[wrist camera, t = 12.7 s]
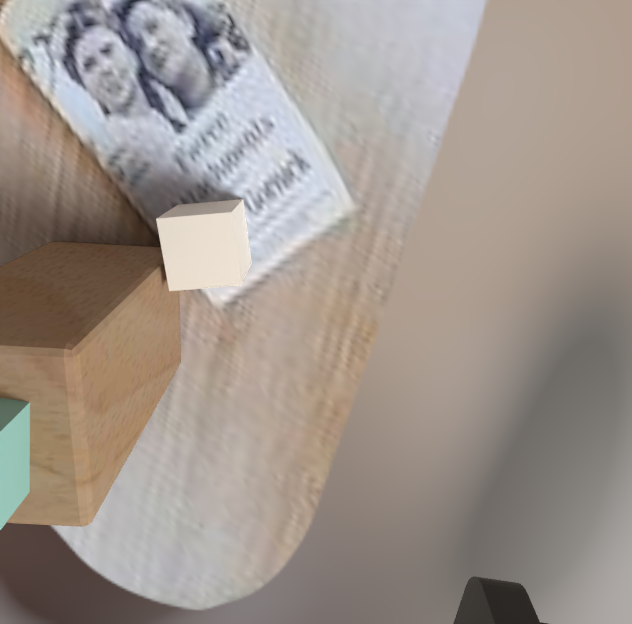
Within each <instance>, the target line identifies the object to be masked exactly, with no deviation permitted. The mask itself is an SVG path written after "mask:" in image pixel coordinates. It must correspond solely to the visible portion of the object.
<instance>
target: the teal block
mask: <svg viewBox="0 0 632 624" xmlns="http://www.w3.org/2000/svg"><path fill="white" fill-rule="evenodd" d="M29 492H30V402H25V401H18V400H12V399H5V398H0V530H1V528H2V527H3V526H4V525H5V523H6V522H7V521H8V519H9V518H10V517H11V516H12V514H13V513H14V512H15V510H16V509H17V508H18V506H19V505H20V504H21V503H22V501H23V500H24V499H25V497H26V496H27V495H28V493H29Z"/></svg>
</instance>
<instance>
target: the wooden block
mask: <svg viewBox="0 0 632 624" xmlns="http://www.w3.org/2000/svg"><path fill="white" fill-rule="evenodd" d="M180 363H181V344H180V304H179V290H178V291H169V287H168V282H167V276H166V271H165V265H164V260H163V254H162V249H161V247H146V246H128V245H111V244H93V243H75V242H57V241H53V242H50V243H48V244H46V245H44V246H42V247H40V248H38V249H36V250H33V251H31V252H29V253H27V254H25V255H23V256H21V257H19V258H17V259H15V260H13V261H11V262H9V263H7V264H5V265H2V266H0V398H5V399H12V400H18V401H25V402H30V492H29V493H28V495H27V496H26V497H25V499H24V500H23V501H22V503H21V504H20V505H19V506H18V508H17V509H16V510H15V512H14V513H13V514H12V516H11V517H10V518H9V519H8V521H7V522H6V523H24V524H43V525H62V526H86V525H89V524H90V523H91V522H92V521H93V519H94V517H95V515H96V513H97V512H98V510H99V508H100V506H101V505H102V503H103V501H104V499H105V497H106V496H107V494H108V492H109V490H110V488H111V487H112V485H113V483H114V481H115V479H116V478H117V476H118V474H119V472H120V471H121V469H122V467H123V465H124V463H125V462H126V460H127V458H128V456H129V454H130V453H131V451H132V449H133V447H134V445H135V444H136V442H137V440H138V438H139V437H140V435H141V433H142V431H143V429H144V428H145V426H146V424H147V422H148V420H149V419H150V417H151V415H152V413H153V411H154V410H155V408H156V406H157V404H158V403H159V401H160V399H161V397H162V395H163V394H164V392H165V390H166V388H167V386H168V385H169V383H170V381H171V379H172V378H173V376H174V374H175V372H176V370H177V369H178V367H179V365H180Z"/></svg>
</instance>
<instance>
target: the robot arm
mask: <svg viewBox="0 0 632 624" xmlns="http://www.w3.org/2000/svg"><path fill="white" fill-rule="evenodd" d="M454 624H547V623H540V622H539V619H538V617H537V615H536V612H535V610H534V608H533V605H532V603H531V601H530V598H529V596H528V594H527V592H526V590H525V588H524V587H523V586H522V585H521V584H519V583H515V582H508V581H501V580H495V579H488V578H481V577H471V578H470V579H469V581H468V583H467V585H466V588H465V591H464V594H463V597H462V600H461V603H460V606H459V609H458V612H457V615H456V618H455V621H454Z"/></svg>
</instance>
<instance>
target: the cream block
mask: <svg viewBox="0 0 632 624" xmlns="http://www.w3.org/2000/svg"><path fill="white" fill-rule="evenodd" d="M156 221H157V227H158V232H159V238H160V243H161V249H162V254H163V260H164V265H165V271H166V276H167V282H168V287H169V291H178V290H190V289H202V288H214V287H226V286H238V285H242V283H243V281H244V279H245V277H246V275H247V272H248V270H249V268H250V266H251V264H252V262H251V254H250V246H249V239H248V231H247V223H246V216H245V208H244V200H243V199H237V200H226V201H214V202H203V203H192V204H181V205H177V206H175V207H173V208H172V209H170V210H169V211H167V212H166V213H164V214H163V215H161V216H160V217H158V218H156Z"/></svg>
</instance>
